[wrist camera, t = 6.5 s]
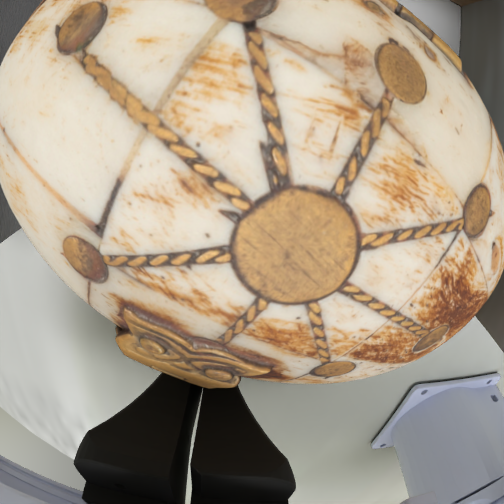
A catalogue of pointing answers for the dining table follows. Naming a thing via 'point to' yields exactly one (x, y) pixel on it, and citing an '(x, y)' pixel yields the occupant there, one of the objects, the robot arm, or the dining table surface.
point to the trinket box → (255, 181)
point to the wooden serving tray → (487, 106)
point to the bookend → (3, 33)
